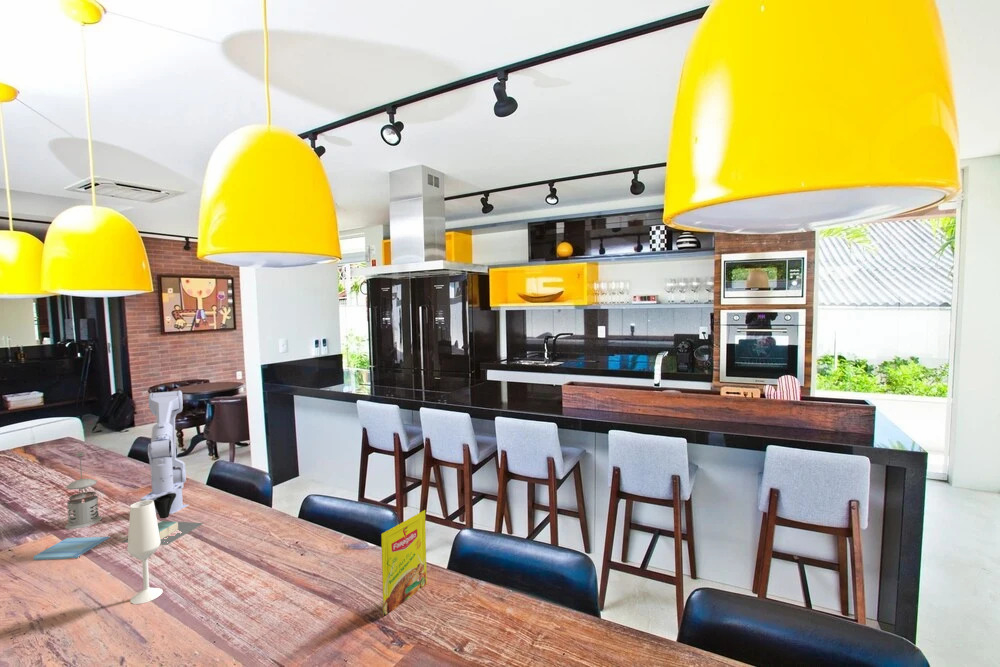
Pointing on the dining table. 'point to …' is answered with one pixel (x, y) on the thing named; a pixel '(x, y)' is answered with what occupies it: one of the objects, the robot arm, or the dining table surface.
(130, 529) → the champagne flute
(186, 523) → the mat
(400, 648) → the dining table surface
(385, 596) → the food package
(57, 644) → the dining table surface
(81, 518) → the french press
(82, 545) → the folded blue cloth
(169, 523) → the beige and teal block
